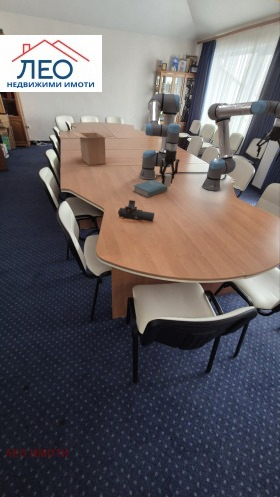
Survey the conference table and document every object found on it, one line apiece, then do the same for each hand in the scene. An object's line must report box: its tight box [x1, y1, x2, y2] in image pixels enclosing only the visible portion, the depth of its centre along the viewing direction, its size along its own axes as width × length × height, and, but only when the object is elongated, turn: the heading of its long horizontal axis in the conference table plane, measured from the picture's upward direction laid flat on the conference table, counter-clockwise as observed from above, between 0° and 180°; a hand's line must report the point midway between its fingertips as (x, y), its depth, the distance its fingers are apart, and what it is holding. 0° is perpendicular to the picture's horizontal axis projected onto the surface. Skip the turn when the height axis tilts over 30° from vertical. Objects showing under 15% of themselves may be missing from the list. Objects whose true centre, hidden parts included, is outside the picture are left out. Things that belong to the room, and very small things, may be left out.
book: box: [133, 179, 169, 198], centre depth 177 cm, size 23×16×5 cm
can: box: [163, 173, 172, 188], centre depth 162 cm, size 6×6×8 cm
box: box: [70, 129, 114, 166], centre depth 229 cm, size 44×36×27 cm
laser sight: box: [117, 199, 155, 223], centre depth 137 cm, size 10×22×10 cm, turn 78°
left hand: (166, 183), depth 163 cm, fingers closed on can, 6 cm apart
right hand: (266, 158), depth 162 cm, fingers open, 13 cm apart
